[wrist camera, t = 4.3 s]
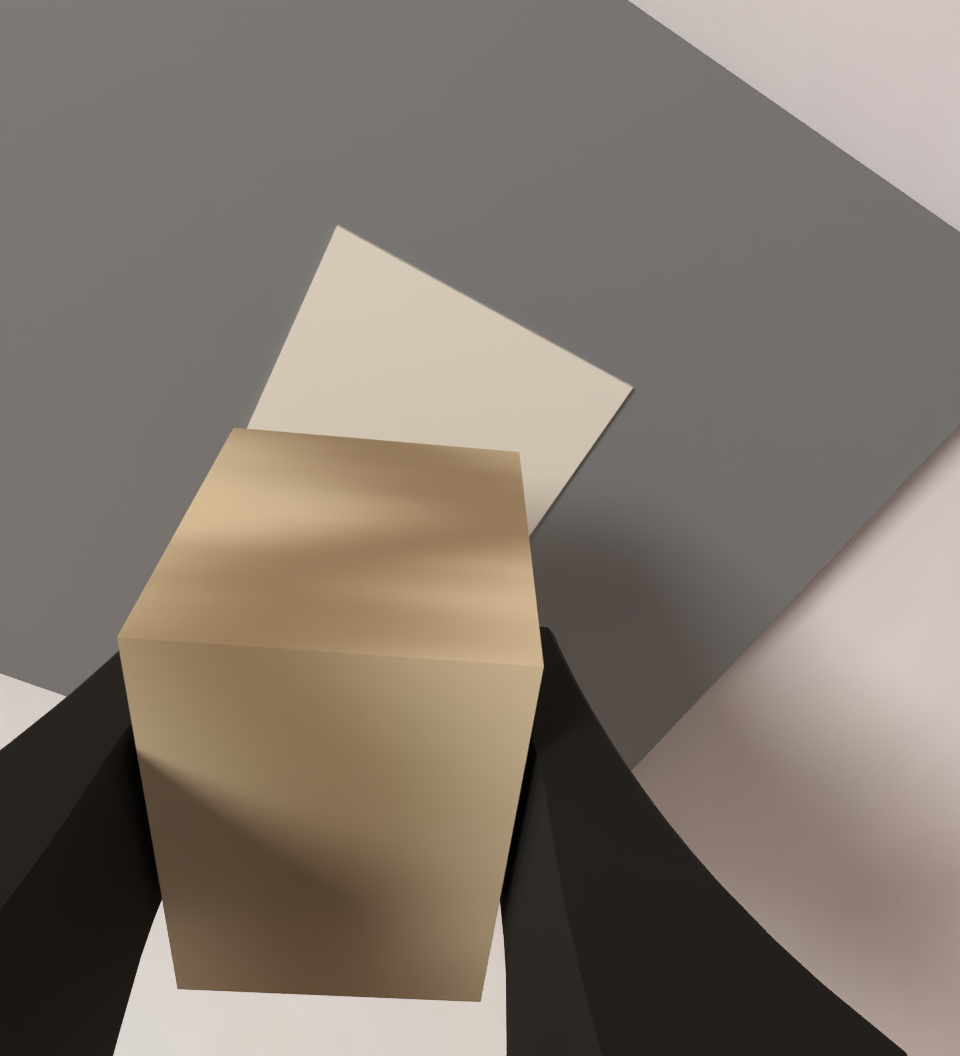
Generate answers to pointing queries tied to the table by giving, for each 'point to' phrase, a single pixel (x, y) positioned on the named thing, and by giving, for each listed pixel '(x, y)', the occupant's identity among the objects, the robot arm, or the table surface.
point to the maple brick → (337, 714)
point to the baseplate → (452, 308)
